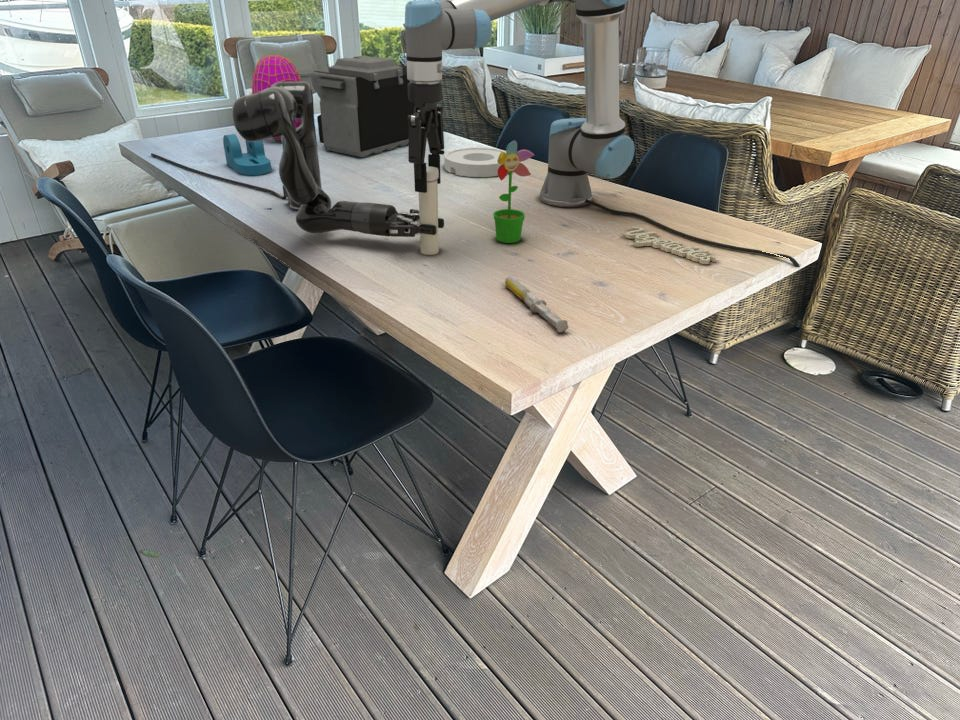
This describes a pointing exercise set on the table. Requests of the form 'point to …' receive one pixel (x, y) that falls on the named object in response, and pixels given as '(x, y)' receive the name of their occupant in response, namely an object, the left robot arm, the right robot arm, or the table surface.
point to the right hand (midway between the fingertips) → (427, 187)
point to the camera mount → (246, 156)
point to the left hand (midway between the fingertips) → (439, 226)
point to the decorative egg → (274, 76)
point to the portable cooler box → (363, 105)
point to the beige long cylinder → (429, 218)
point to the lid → (432, 173)
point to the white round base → (473, 162)
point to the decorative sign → (669, 245)
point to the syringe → (535, 304)
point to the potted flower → (510, 219)
